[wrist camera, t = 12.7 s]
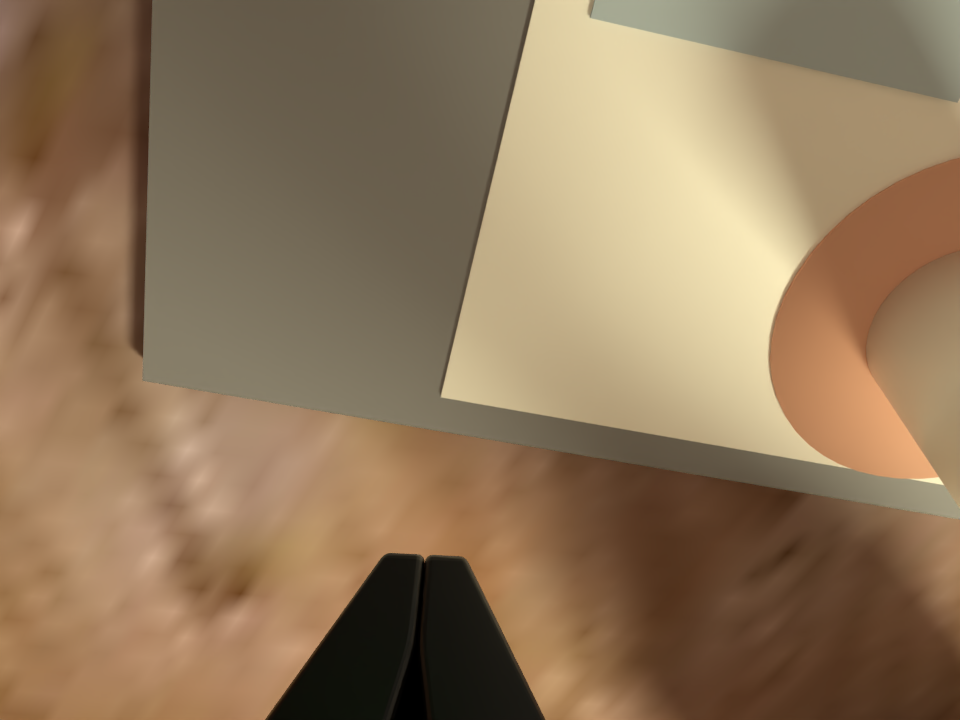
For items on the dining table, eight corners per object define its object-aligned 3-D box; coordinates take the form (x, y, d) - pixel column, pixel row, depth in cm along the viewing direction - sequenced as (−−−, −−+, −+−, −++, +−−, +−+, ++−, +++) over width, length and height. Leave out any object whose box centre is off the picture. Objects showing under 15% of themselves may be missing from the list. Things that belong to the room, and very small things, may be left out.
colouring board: (1655, -352, 14) (1877, -377, 12) (1030, 517, 23) (1088, 593, 21) (171, -844, 11) (97, -996, 9) (141, 364, 21) (102, 433, 18)
